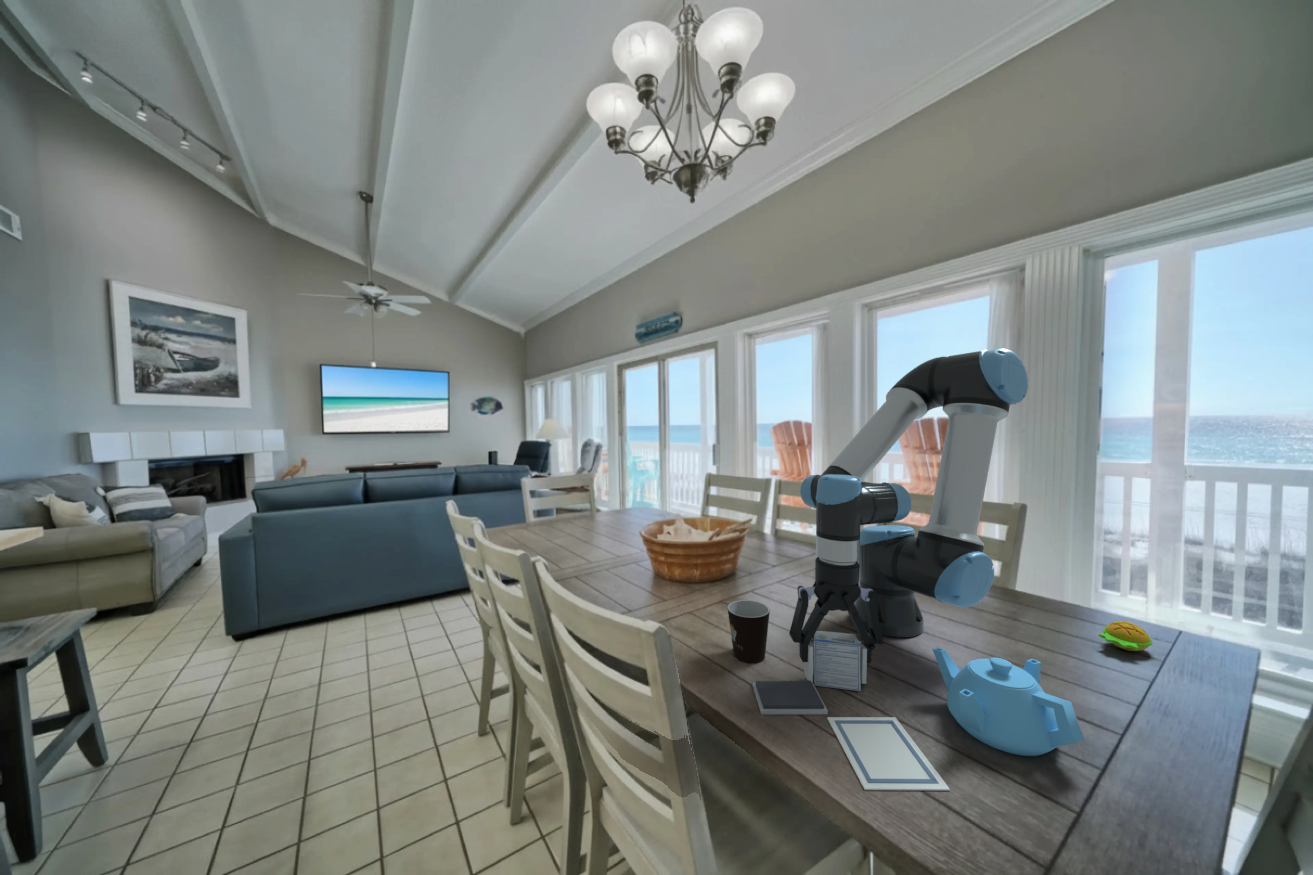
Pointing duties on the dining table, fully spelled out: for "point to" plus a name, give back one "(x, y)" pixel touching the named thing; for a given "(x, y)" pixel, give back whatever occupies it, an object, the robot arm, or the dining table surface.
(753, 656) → the coffee mug
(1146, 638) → the toy burger
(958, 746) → the dining table surface
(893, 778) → the print sheet
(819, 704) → the ink pad
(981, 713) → the teapot
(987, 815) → the dining table surface
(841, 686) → the medicine box
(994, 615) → the dining table surface
